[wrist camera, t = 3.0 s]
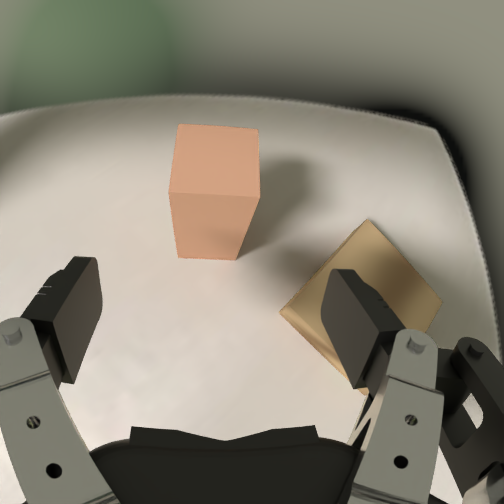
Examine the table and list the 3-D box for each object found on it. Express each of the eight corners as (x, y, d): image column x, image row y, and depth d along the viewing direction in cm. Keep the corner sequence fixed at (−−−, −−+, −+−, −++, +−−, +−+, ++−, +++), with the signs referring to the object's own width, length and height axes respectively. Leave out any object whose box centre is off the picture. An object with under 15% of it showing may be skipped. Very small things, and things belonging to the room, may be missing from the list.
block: (178, 257, 22) (168, 192, 13) (181, 205, 23) (178, 123, 15) (235, 260, 22) (260, 197, 14) (235, 208, 24) (258, 129, 15)
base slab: (277, 313, 22) (289, 305, 19) (350, 234, 25) (367, 218, 22) (361, 394, 21) (382, 397, 18) (420, 309, 24) (442, 301, 21)
